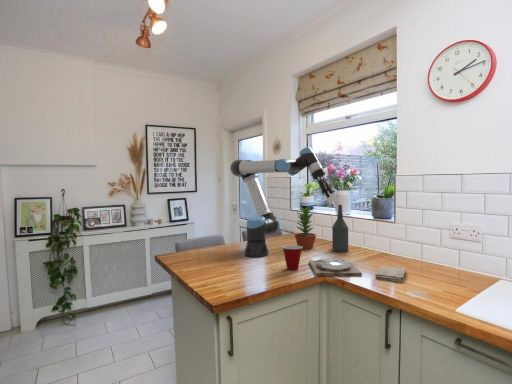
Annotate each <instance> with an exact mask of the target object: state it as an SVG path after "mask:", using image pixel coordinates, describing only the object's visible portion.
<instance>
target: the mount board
mask: <svg viewBox="0 0 512 384" xmlns="http://www.w3.org/2000/svg"><path fill="white" fill-rule="evenodd" d="M308 264H309V266H310V268H311V270H312V272H313V273H314V276H315V277H362V276H363V273H362V272H361V270H359V268H357V267H356V266H355V265H354V264H353V263H352V262H351V261H350V260H346V259H342V258H336V257H326V258H324V257H323V258H320V259H317V260H308Z"/></svg>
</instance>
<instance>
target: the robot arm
mask: <svg viewBox="0 0 512 384" xmlns="http://www.w3.org/2000/svg"><path fill="white" fill-rule="evenodd" d="M306 168H307V170H308V172H309V173H310V174H311V178H312V179H313V180H315V181H317V183H318V184H319V187H320V190H321V193H322V194H324V195H325V197H326V200H327V202H328V203H329V204H332V203H333V204H334V205H337V204H338V203H339V200H338V199H337V197H336V195H335V194H334V193H335V191H334V190H333V189H332V188H331V186H330V184H329V183H328V181H327V179H326V178H324V176H326V172H325V170H324V168H323V167H322V163H321V162H320V161H319V159H318V158H317V156H316V154H315V152H314V151H313V149H312V148H311V147H310V146H306V147H304V148H302V149H301V150H300V151H299V156H298V157H297V158H296V159H286V158H280V159H266V160H251V159H235V160H233V161H232V163H231V164H230V168H229V169H230V172H231V174H232V175H234V176H235V177H237V178H238V177H239V178H240V177H241V178H242V179H241V180H242V182H243V183H246V186H247V189H248V192H249V195H250V197H251V200H252V202H253V206H254V208H255V210H256V214H257V216H251V217H249V218H248V219H247V221H246V245H245V249H244V256H245V257H249V258H250V257H251V258H264V257H268V256H269V248H268V246H267V241H266V236H269V235H274V234H275V233H277V232H278V231H279V230H280V226H281V222H280V219H279V218H278V217H277V216H275V215H274V212H273V211H272V210H270V208H269V205H268V203H267V200H266V197H265V195H264V192H263V189H262V186H261V183H260V181H259V176H260V174H269V173H270V174H271V173H275V174H276V173H288V174H289V175H290V176H291V177H293V176H295V175H297V174H299V173H300V172H301V171H303V170H304V169H306Z"/></svg>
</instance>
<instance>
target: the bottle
mask: <svg viewBox="0 0 512 384" xmlns="http://www.w3.org/2000/svg"><path fill="white" fill-rule="evenodd" d="M337 206H338V207H337V208H338V209H337V219H336V220H335V222H334V223H333V224H332V234H331V235H332V239H331V242H332V246H331V247H332V251H333V252H339V253H344V252H348V251H349V227H348V225H347V223H346V221H345V220H344V217H343V216H344V215H343V214H344V213H343V205H342V204H338V205H337Z"/></svg>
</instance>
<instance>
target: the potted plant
mask: <svg viewBox="0 0 512 384" xmlns="http://www.w3.org/2000/svg"><path fill="white" fill-rule="evenodd" d="M298 206H299V207H298V208H299V209H300V211H301V213H300V212H298V211H296V213H297V217H298V218H299V220H298V219H297V221H298V222H296V224H297V225H299V226H296V225H295V227H296V228H297V229H298V230H300V231H301V232H299V233H298V232H297V233H295V234H294V238H295V241H296V246H302V247H303V248H302V250H312V249H314V245H315V241H316V238H317V234H316V233H312V232H310V231H312V230H313V229H314V228H315V226H313V227H312V225H311V224H310V223H312V222H313V220H310V219H311V217H313V213H310V212H311V211H312V210H311V209H312V208H311V206H312V204H310V205H308V206H306V207H305V208H304V207H303V206H300V205H298Z"/></svg>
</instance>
